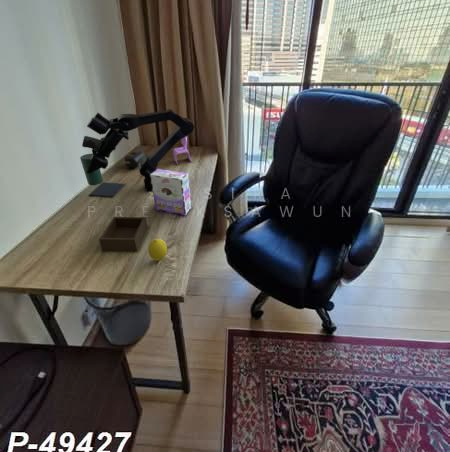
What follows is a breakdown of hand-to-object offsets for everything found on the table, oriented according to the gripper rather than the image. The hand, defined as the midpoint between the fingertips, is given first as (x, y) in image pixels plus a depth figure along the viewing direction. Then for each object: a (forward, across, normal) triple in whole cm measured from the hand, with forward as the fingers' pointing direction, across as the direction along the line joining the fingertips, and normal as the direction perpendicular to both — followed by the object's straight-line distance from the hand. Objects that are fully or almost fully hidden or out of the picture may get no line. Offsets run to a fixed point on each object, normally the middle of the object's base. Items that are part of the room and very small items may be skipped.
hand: (88, 169), depth 104 cm
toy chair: (-21, -24, +41) cm, 52 cm away
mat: (+7, -6, +13) cm, 16 cm away
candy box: (-11, +21, +31) cm, 39 cm away
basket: (+2, +32, +18) cm, 37 cm away
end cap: (-3, -28, +23) cm, 37 cm away
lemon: (-4, +46, +25) cm, 52 cm away
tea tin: (+3, 0, +5) cm, 6 cm away
